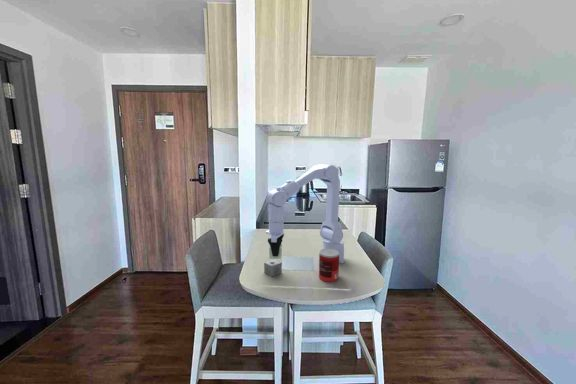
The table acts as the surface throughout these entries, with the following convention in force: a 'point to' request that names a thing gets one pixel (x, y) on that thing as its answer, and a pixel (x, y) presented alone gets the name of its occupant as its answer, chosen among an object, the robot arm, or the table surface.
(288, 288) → the table surface
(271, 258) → the sage brick
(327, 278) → the canned food
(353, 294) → the table surface
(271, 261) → the dice cube
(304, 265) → the plate
